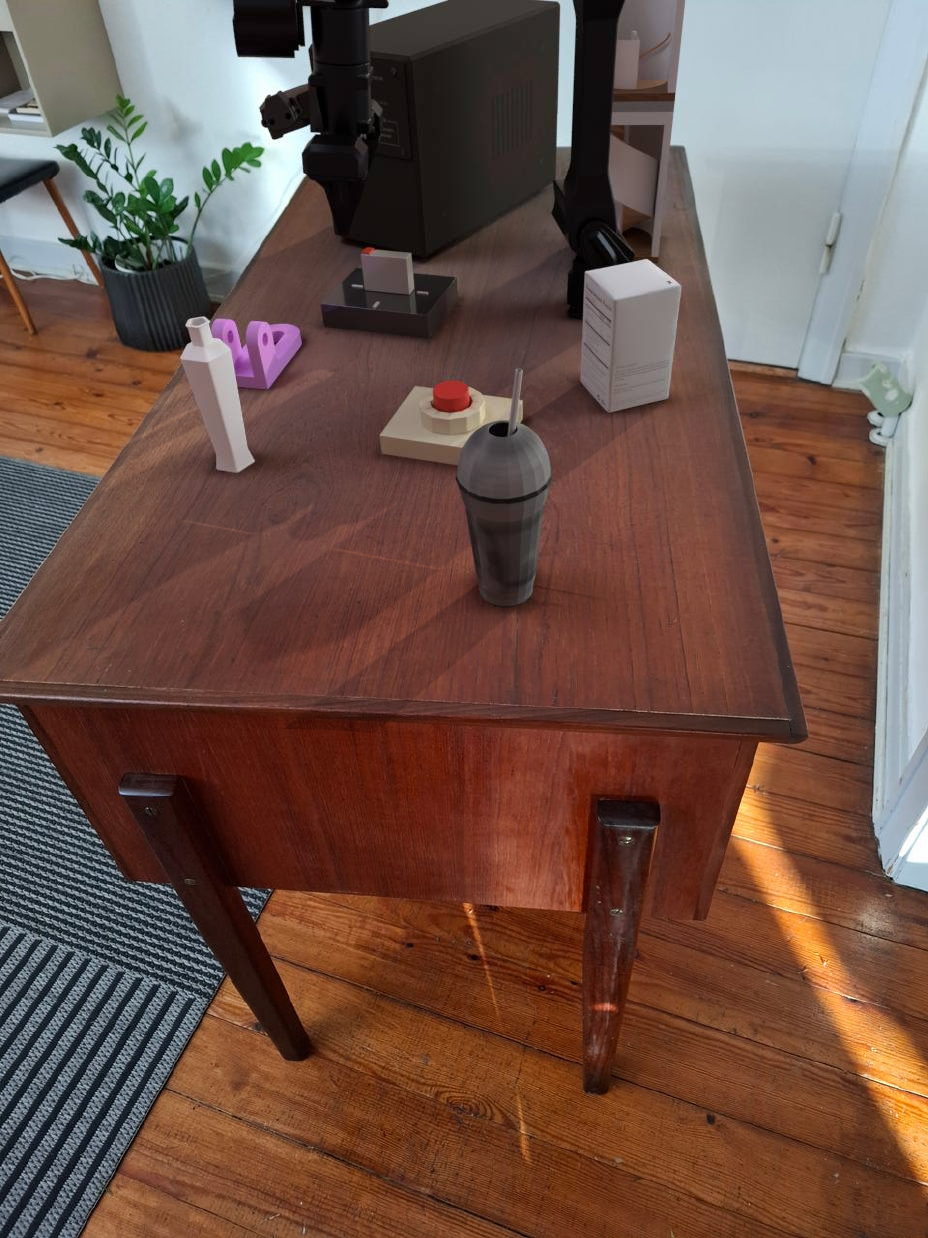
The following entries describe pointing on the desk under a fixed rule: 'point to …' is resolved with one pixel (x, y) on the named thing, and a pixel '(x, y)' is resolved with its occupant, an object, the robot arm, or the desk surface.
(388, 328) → the panel
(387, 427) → the block
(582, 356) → the white packaging box
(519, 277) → the desk surface
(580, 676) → the desk surface
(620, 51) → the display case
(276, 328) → the bracket
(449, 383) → the button
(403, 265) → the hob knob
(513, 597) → the beverage cup
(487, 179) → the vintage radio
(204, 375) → the perfume bottle
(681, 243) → the desk surface
